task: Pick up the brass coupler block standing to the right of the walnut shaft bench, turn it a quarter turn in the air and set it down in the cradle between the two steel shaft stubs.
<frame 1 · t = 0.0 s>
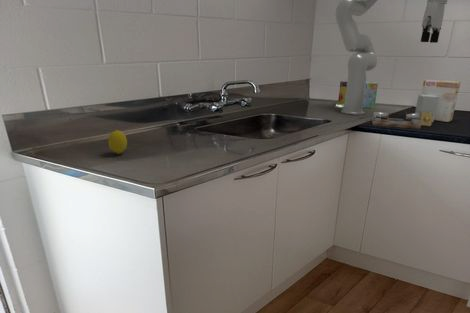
hand: (429, 42, 151), 37 cm above the counter, tool pointing down, fingers open, 9 cm apart
coffeecake box: (433, 119, 175), on the counter, touching supplement box
snack box: (355, 107, 207), on the counter
shaft stubs: (394, 124, 161), resting on bench board
lemon: (118, 154, 108), on the counter
bench board: (394, 124, 161), on the counter
coupler: (424, 124, 163), on the counter
supplement box: (423, 120, 172), on the counter, touching coffeecake box
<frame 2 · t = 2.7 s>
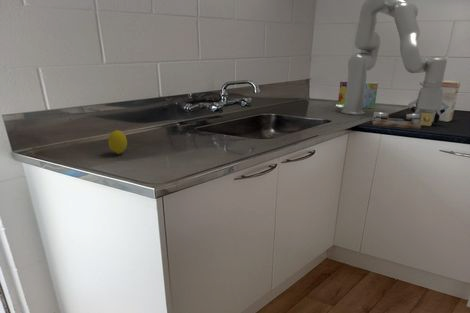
hand: (424, 122, 162), 1 cm above the counter, tool pointing down, fingers open, 8 cm apart
nothing on the counter moved.
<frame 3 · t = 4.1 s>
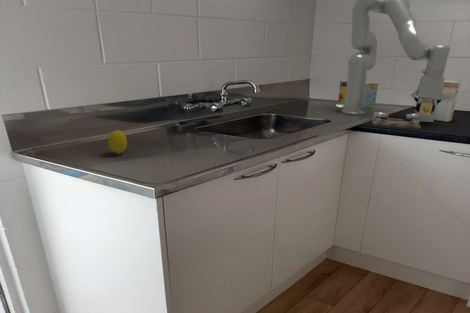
hand: (424, 111, 162), 6 cm above the counter, tool pointing down, fingers closed on coupler, 5 cm apart
coupler: (423, 114, 162), point 5 cm above the counter, touching gripper
everything else where it was.
when the fingers open (4 cm above the counter, at t = 8.3 s): coupler stays where it is, resting on bench board.
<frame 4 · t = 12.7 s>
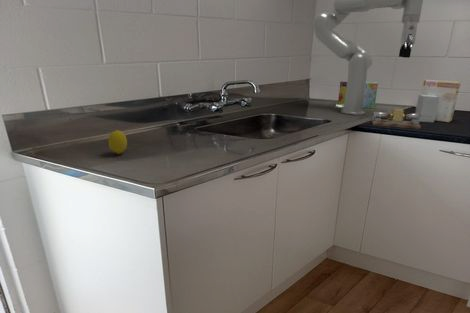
hand: (404, 57, 167), 30 cm above the counter, tool pointing down, fingers open, 9 cm apart
coupler: (396, 122, 160), point 1 cm above the counter, touching bench board
supplement box: (423, 121, 172), on the counter, touching coffeecake box
everything else where it was.
at the end: coupler 0.1 cm off-centre on the bench board, point 1.2 cm above the bench board's base; coupler tilted 0°; the gripper is holding nothing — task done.
